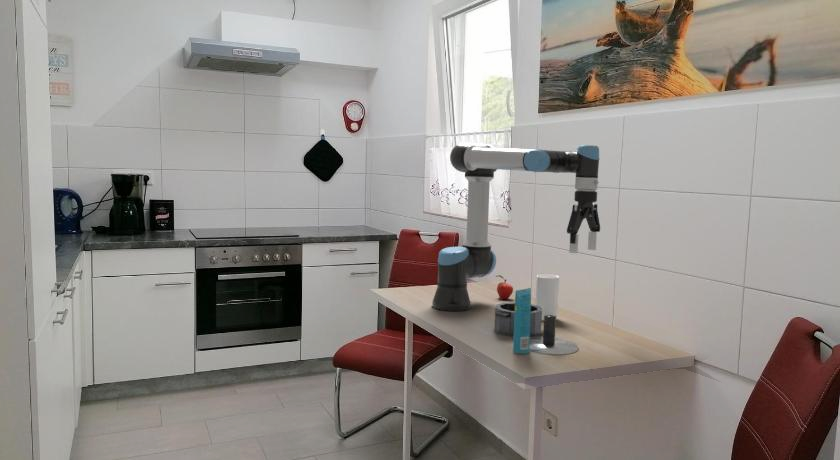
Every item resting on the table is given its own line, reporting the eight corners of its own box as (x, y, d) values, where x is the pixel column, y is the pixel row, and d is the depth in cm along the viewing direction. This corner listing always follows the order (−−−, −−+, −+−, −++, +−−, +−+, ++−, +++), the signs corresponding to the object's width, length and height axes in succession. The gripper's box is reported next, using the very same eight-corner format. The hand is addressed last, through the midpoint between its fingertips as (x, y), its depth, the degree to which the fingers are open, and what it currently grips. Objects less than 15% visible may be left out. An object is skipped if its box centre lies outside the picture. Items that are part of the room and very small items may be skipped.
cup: (544, 321, 225) (546, 278, 223) (530, 316, 232) (532, 274, 230) (561, 320, 228) (564, 277, 227) (547, 315, 236) (549, 273, 234)
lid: (508, 346, 194) (509, 315, 193) (539, 335, 207) (540, 307, 206) (559, 359, 181) (560, 326, 180) (588, 347, 195) (590, 317, 194)
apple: (510, 297, 267) (511, 274, 266) (513, 300, 260) (514, 277, 259) (493, 296, 267) (494, 273, 266) (495, 300, 260) (496, 276, 259)
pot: (519, 340, 199) (521, 316, 198) (481, 331, 209) (482, 308, 208) (553, 329, 214) (554, 307, 213) (515, 321, 224) (516, 299, 223)
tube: (520, 347, 191) (523, 286, 189) (534, 351, 188) (537, 288, 186) (507, 352, 185) (510, 289, 183) (521, 356, 182) (524, 292, 180)
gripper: (578, 191, 202) (575, 255, 204) (612, 190, 220) (608, 249, 222) (558, 190, 207) (555, 253, 209) (592, 189, 225) (589, 247, 227)
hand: (582, 251), depth 216 cm, fingers open, 13 cm apart
